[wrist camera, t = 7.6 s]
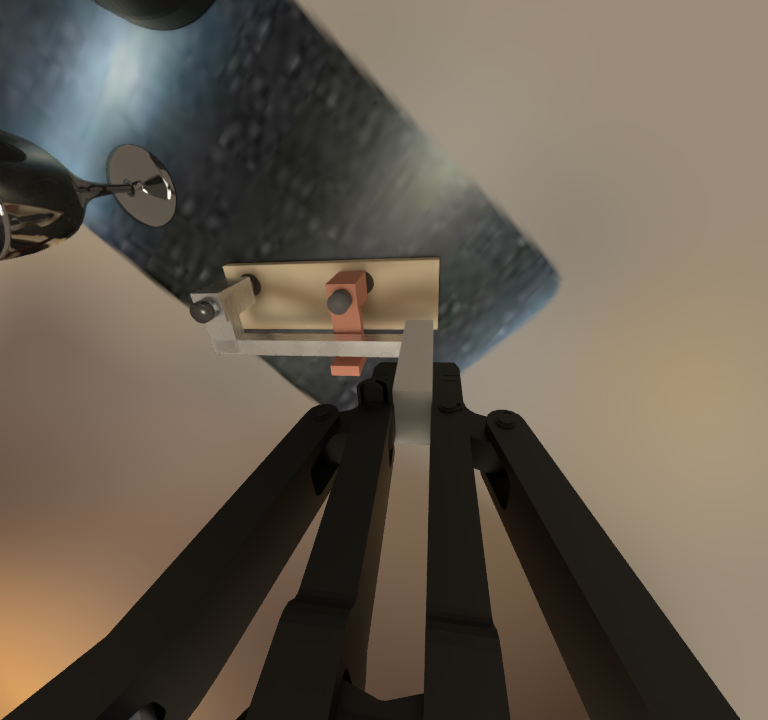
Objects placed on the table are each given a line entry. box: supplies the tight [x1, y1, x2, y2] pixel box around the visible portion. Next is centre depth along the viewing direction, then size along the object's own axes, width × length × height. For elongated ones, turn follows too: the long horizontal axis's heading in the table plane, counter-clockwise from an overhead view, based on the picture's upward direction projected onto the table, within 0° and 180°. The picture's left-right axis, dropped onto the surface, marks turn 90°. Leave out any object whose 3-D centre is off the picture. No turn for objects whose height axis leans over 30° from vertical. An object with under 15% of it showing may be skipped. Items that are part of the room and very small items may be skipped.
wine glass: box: [0, 130, 176, 261], centre depth 25 cm, size 8×8×15 cm
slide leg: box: [325, 271, 368, 376], centre depth 30 cm, size 8×3×6 cm, turn 4°
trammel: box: [190, 277, 403, 357], centre depth 29 cm, size 6×20×8 cm, turn 94°
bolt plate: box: [223, 257, 439, 329], centre depth 33 cm, size 7×22×1 cm, turn 94°
